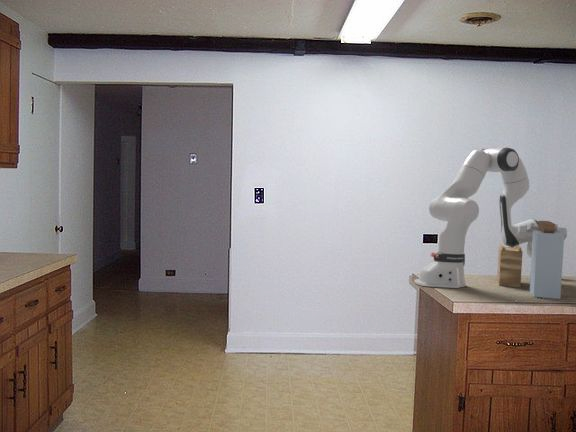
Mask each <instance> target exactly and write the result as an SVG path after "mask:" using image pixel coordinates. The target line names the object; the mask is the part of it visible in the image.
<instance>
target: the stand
mask: <svg viewBox="0 0 576 432" xmlns="http://www.w3.org/2000/svg"><path fill="white" fill-rule="evenodd" d="M564 245H565V240H564V234H562V233H559V232H555V234H554V233H543V232H541V231H533V239H532V256H531V257H530V260H531V261H530V273H529V275H530V276H529V290H528V291H529V292H530V293H531V295H532V296H533V298H544V299H555V300H561V296H562V295H561V294H562V291H561V290H562V278H563V277H562V275H563V261H564V247H565V246H564Z"/></svg>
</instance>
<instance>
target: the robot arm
mask: <svg viewBox="0 0 576 432" xmlns="http://www.w3.org/2000/svg"><path fill="white" fill-rule="evenodd" d="M487 172H489V173H490V172H491V173H492V172H493V173H500V174H501V179H502V184H503V191H502V193H501V194H500V195H499V211H500V212H499V214H500V215H499V216H500V225H501V228H500V233H501V234H500V235H501V240H502V244H503V245H504V246H506V247H511V248H516V245H519V246H520V245H521V244H524V243H527V245H526V254H527V256H528V257H530V258H531V256H532V239H533V231H540V230H538V223H539V220H536V219H534V218H530V219H527V220H524V221H521V222H518V223H515V224H512V215H511V212H512V211H511V210H512V207H513V206H514V205H515V204H516V203H517V202H519V200H521V199H523V198H524V197H525V195H526V194H527V193H528V192H529V190H530V179H529V176H528V173H527V169H526V167H525V165H524V163H523V161H522V159H521V158H520V156H519V154H518V152H517V151H516V150H515V149H514V148H512V147H491V148H483V149H474V150H472V151H471V152H470V153H469V154H468V156H467V157H466V158H465V160H464V162H463V163H462V165H461V167H460V168H459V170H458V172H457V174H456V175H455V178H454V180H453V181H452V182H451V184H450V185H449V186H448V187H447V188H446V189H445V190H444V191H443V192H442V193H441V194H440V195H439V196H436V197H435V198H434V199H432V200H431V202H430V203H429V207H428V209H429V214H430V215H431V217H432V218H433V219H436V220H439V221H442V222H447V224H446V227H445V229H444V230H443V231H441V232H440V233H439V237H438V251H437V252H431V253H430V257H432V258H433V260H432V261H431V262H430V263H428V264H427V265H425V266H424V267H422V268H421V270H420V272H419V277H418V278H415V279H414V281H413V282H414V284H415V285H418V286H421V287H422V286H423V287H431V288H432V287H433V288H447V289H448V288H451V289H460V288H464V287H466V286H467V284H466V279H465V262H466V253H465V245H466V236H467V233H468V230H469V229H470V228H469V227H471V224H472V223H474V222H475V221H476V220H477V218H478V216H479V215H480V209H479V204H478V203H477V202H476V201H475V200H473V199H470V197H472V196H474V195H475V194H476V193H478V190H479V188H480V186H481V184H482V183H483V181H484V178H485V177H486V175H487ZM554 224H555V232H559V233H562V234H564V241H565V240H566V239H567V236H568V231H567V230H568V229H567V228H566V227H560V226H559V225H558V223H557V224H556V223H554Z"/></svg>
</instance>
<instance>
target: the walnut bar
mask: <svg viewBox="0 0 576 432" xmlns="http://www.w3.org/2000/svg"><path fill="white" fill-rule="evenodd" d="M538 222H539V223H538V230H540V231H541V232H543V233H554V234H555V224H556V223H554V222H551V221H549V220H538Z"/></svg>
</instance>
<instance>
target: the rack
mask: <svg viewBox="0 0 576 432" xmlns="http://www.w3.org/2000/svg"><path fill="white" fill-rule="evenodd" d="M523 254H524V253H523V250H522V247H521V246H520V244H519V245H516V246H515V247H509V246H505V244H504V243H500V244H499V246H498V259H497V261H498V262H497V275H496V276H497V278H496V280H497V284H498V286H499V287H509V288H510V287H511V288H512V287H513V288H521V284H522V270H523V269H522V267H523Z"/></svg>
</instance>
